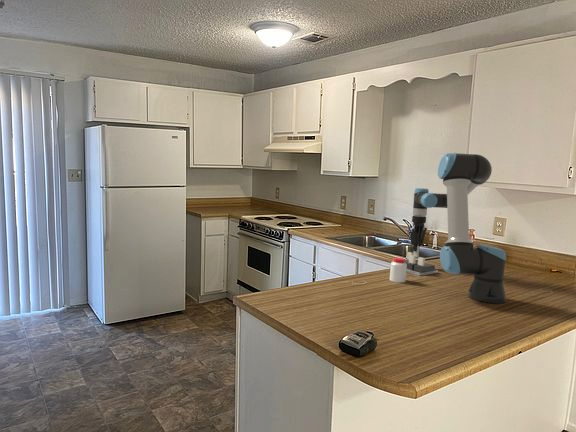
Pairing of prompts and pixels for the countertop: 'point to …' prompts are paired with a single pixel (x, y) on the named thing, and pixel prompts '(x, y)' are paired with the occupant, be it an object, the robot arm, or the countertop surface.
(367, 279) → the countertop surface
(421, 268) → the panel
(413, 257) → the handle mid
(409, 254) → the handle
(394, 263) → the pill bottle
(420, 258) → the handle far
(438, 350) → the countertop surface
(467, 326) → the countertop surface
